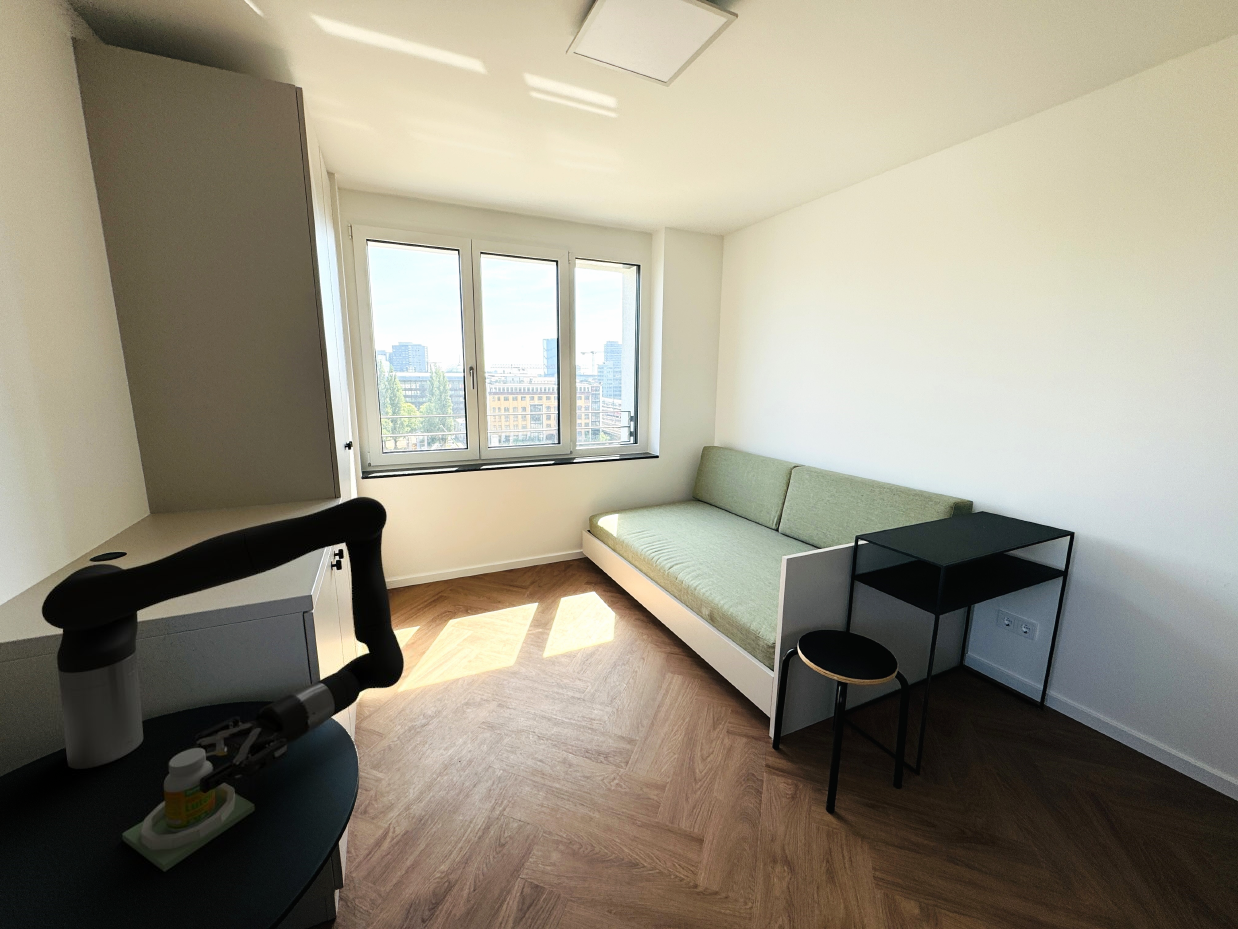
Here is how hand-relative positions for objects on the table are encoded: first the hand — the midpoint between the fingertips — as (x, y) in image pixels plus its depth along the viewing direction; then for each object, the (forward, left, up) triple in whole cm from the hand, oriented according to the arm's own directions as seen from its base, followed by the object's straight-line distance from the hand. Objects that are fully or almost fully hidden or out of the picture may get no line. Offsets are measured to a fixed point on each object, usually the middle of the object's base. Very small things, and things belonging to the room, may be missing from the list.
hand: (184, 776), depth 70 cm
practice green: (0, 0, -8) cm, 8 cm away
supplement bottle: (0, 0, -7) cm, 7 cm away
